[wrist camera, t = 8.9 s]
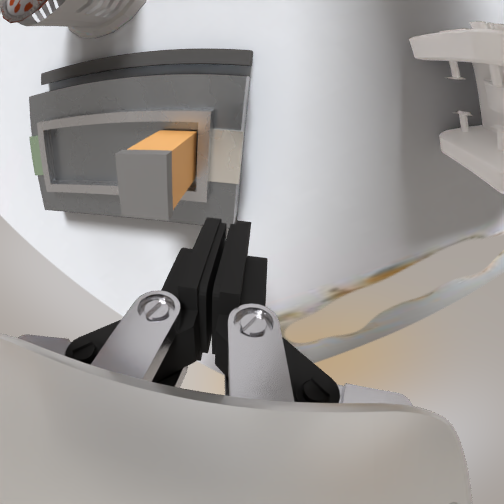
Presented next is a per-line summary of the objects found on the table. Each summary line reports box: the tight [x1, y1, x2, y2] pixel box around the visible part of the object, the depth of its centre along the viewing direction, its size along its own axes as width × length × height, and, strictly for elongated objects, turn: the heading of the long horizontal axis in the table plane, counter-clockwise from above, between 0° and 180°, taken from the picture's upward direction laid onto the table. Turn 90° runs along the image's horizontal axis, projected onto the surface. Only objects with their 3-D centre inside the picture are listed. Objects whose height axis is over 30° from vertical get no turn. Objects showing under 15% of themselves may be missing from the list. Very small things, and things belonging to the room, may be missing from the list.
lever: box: [115, 130, 197, 221], centre depth 17 cm, size 4×3×6 cm
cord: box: [41, 49, 253, 85], centre depth 17 cm, size 1×20×1 cm, turn 84°
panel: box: [29, 74, 250, 228], centre depth 20 cm, size 12×20×4 cm, turn 84°
